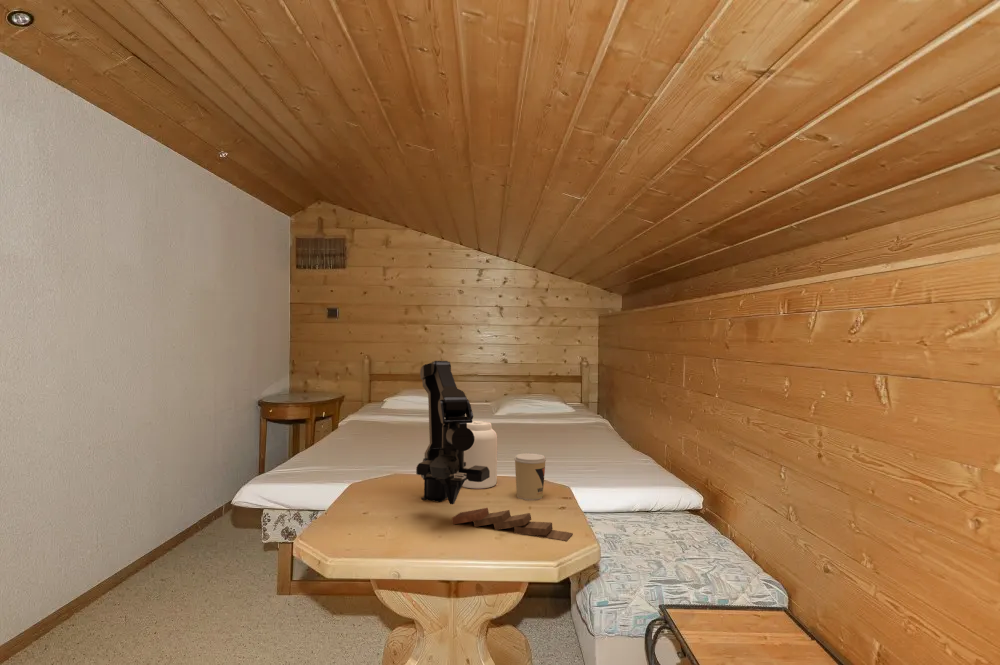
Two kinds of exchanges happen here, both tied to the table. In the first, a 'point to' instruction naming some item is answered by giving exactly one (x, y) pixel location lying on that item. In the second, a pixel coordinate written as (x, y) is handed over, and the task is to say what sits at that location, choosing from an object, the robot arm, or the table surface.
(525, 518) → the domino
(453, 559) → the table surface
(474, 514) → the domino
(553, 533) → the domino
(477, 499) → the table surface
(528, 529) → the domino
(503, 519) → the domino
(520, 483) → the coffee cup
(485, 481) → the white lidded jar
